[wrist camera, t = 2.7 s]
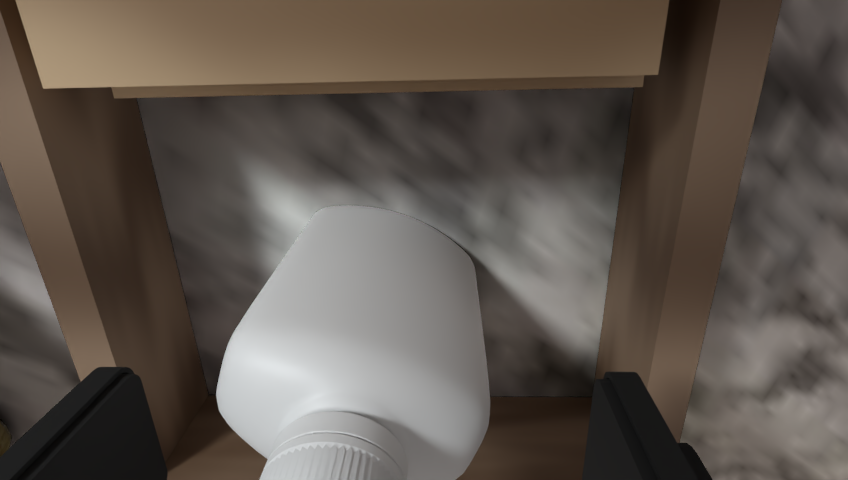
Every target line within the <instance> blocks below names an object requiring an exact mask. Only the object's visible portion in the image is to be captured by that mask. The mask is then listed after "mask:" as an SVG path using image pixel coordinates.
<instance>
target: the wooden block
mask: <svg viewBox="0 0 848 480" xmlns="http://www.w3.org/2000/svg"><path fill="white" fill-rule="evenodd" d="M16 4H17V7H18V10H19V13H20V16H21V20H22V23H23V26H24V29H25V32H26V35H27V39H28V42H29V45H30V48H31V51H32V55H33V58H34V61H35V64H36V67H37V71H38V74H39V77H40V80H41V83H42V87H43V89H48V88H92V87H111V88H112V92H113V96H114V98H157V97H204V96H251V95H298V94H345V93H391V92H438V91H485V90H532V89H578V88H625V87H643V82H644V75H658V72H659V65H660V59H661V52H662V45H663V39H664V32H665V26H666V19H667V13H668V6H669V0H16Z"/></svg>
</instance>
